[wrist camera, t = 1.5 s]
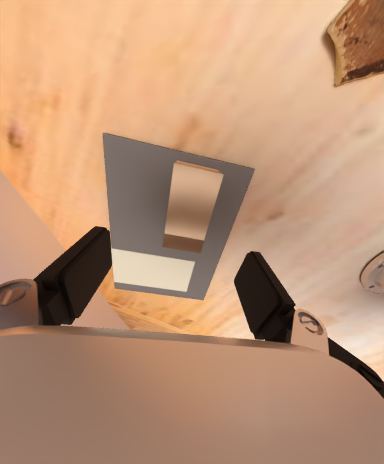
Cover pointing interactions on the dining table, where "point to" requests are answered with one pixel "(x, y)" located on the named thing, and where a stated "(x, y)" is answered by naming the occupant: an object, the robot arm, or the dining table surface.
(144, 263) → the mat
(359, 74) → the shard
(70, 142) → the dining table surface
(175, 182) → the tan tapered block
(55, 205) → the dining table surface
